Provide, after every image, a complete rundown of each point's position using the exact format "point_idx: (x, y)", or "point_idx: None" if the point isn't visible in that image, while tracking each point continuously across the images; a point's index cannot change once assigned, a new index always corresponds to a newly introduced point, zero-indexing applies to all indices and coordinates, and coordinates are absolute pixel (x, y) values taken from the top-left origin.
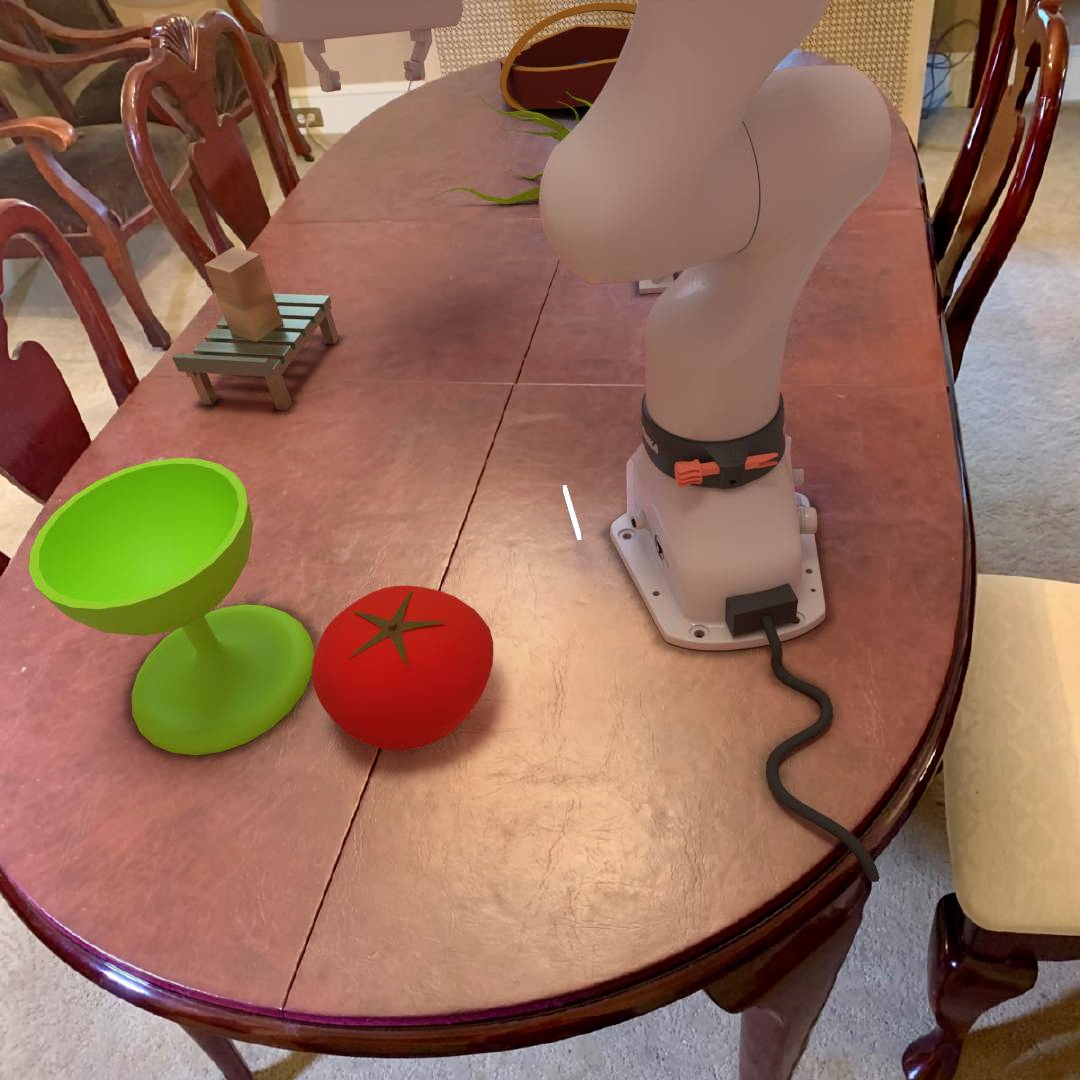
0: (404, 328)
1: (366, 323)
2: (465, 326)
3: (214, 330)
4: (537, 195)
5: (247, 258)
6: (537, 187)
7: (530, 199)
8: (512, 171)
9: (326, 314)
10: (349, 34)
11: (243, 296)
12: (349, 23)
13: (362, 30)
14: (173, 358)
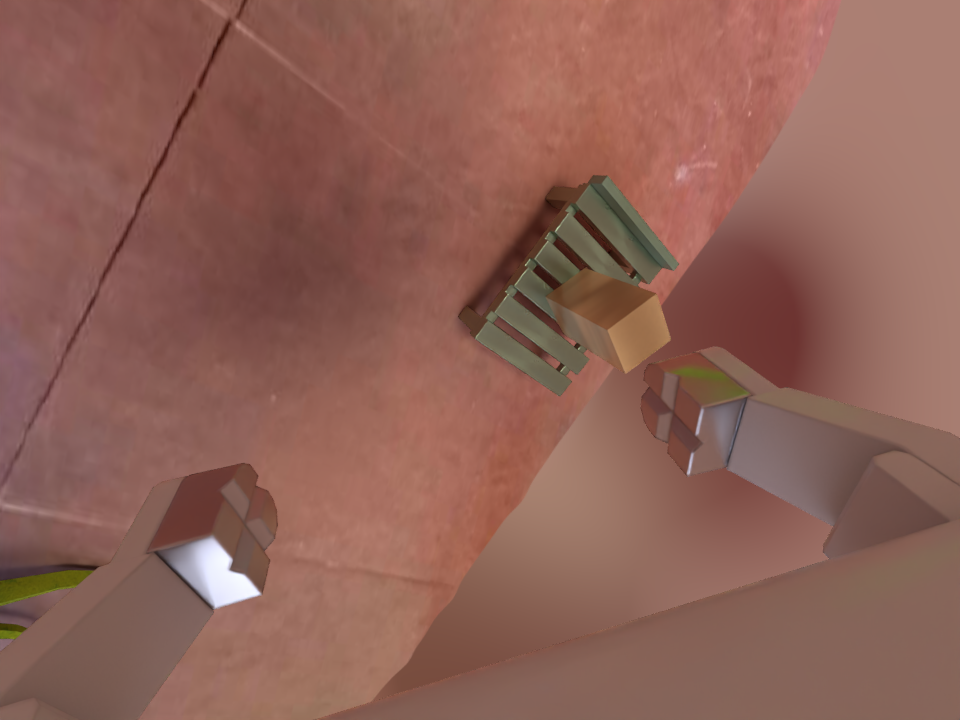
0: (372, 297)
1: (417, 335)
2: (281, 254)
3: None
4: (58, 575)
5: (624, 325)
6: (50, 589)
7: (78, 570)
8: None
9: (480, 318)
10: (814, 583)
11: (621, 286)
12: (925, 699)
13: (700, 649)
14: (677, 262)
